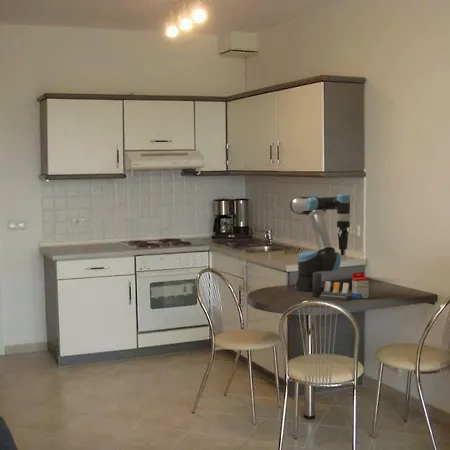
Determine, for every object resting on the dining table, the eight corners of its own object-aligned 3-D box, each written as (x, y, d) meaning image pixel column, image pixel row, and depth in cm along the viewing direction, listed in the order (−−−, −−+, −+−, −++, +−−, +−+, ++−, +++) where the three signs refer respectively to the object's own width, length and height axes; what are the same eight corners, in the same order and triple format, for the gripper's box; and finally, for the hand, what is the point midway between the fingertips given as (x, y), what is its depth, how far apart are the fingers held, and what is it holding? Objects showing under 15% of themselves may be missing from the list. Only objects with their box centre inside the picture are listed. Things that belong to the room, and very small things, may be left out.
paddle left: (323, 292, 415) (325, 281, 417) (324, 293, 416) (326, 281, 418) (328, 292, 413) (330, 281, 415) (329, 293, 414) (331, 282, 416)
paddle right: (341, 294, 409) (343, 282, 411) (342, 294, 411) (344, 283, 413) (346, 294, 408) (348, 283, 410) (347, 295, 409) (349, 283, 411)
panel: (319, 298, 412) (319, 294, 411) (325, 295, 421) (325, 291, 421) (345, 301, 404) (345, 296, 404) (351, 298, 414) (352, 293, 413)
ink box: (356, 299, 410) (357, 274, 409) (351, 297, 415) (351, 272, 413) (368, 297, 414) (369, 272, 413) (363, 296, 418) (363, 271, 417)
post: (311, 297, 417) (311, 273, 416) (314, 295, 421) (314, 272, 420) (319, 297, 415) (319, 274, 413) (322, 296, 419) (322, 272, 418)
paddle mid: (332, 293, 412) (334, 281, 414) (333, 293, 413) (335, 282, 415) (337, 293, 411) (339, 282, 412) (338, 294, 412) (340, 283, 414)
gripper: (345, 221, 411) (345, 262, 413) (353, 220, 423) (352, 259, 425) (333, 221, 415) (333, 261, 417) (340, 219, 426) (340, 258, 428)
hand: (343, 260), depth 421 cm, fingers closed
